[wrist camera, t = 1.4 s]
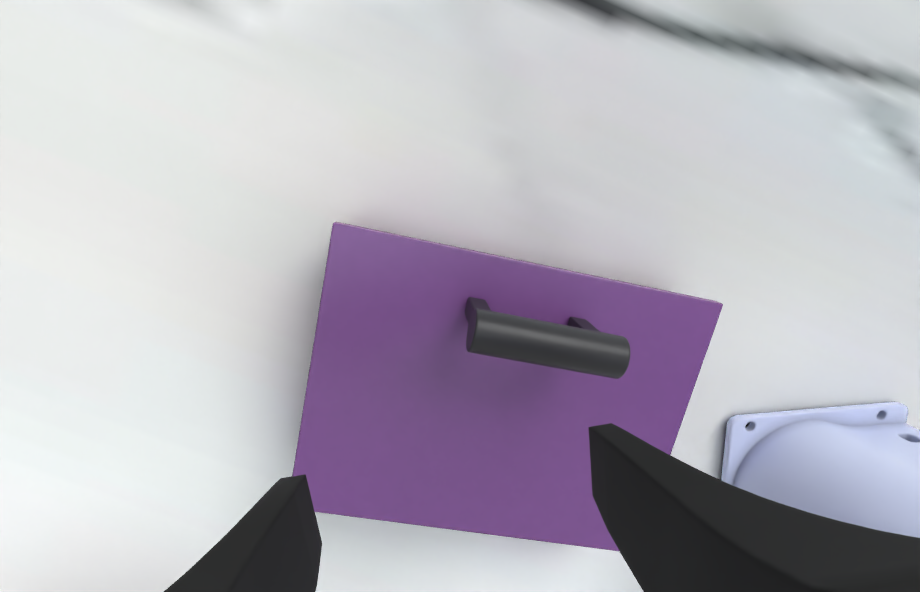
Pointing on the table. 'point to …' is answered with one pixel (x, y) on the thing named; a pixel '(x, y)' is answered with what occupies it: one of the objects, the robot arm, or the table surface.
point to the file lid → (484, 385)
